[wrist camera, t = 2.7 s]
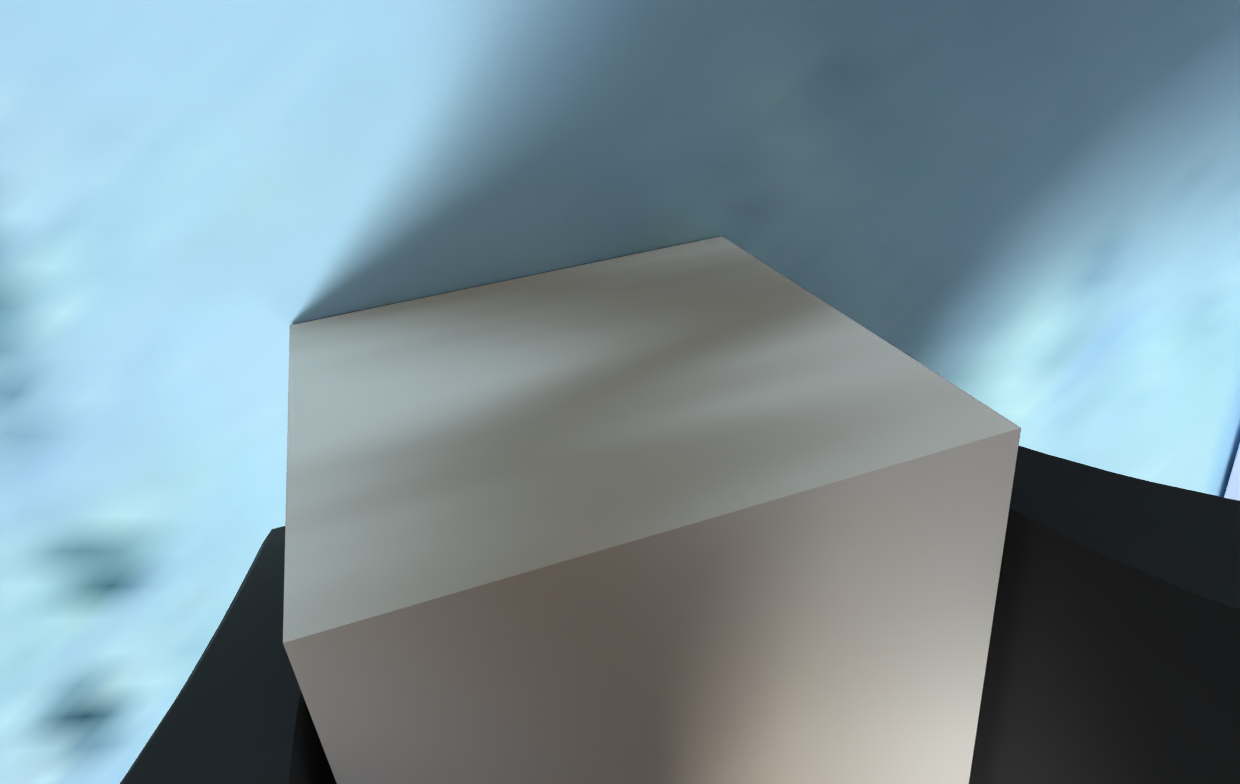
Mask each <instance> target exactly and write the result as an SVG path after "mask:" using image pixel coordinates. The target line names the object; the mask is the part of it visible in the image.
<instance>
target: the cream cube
mask: <svg viewBox="0 0 1240 784" xmlns="http://www.w3.org/2000/svg"><path fill="white" fill-rule="evenodd" d="M1020 432H1021V427H1019V426H1017V425H1016V424H1014V423H1013V422H1011V421H1010V420H1008V419H1007V418H1005V417H1003V416H1002V415H1000V414H999V413H997V412H996V411H994V410H993V409H991V408H989V407H988V406H986V405H985V404H983V403H982V402H980V401H978V400H977V399H975V398H974V397H972V396H971V395H969V394H968V393H966V392H964V391H963V390H961V389H960V388H958V387H957V386H955V385H954V384H952V383H950V382H949V381H947V380H946V379H944V378H943V377H941V376H940V375H938V374H936V373H935V372H933V371H932V370H930V369H929V368H927V367H926V366H924V365H922V364H921V363H919V362H918V361H916V360H915V359H913V358H911V357H910V356H908V355H907V354H905V353H904V352H902V351H901V350H899V349H897V348H896V347H894V346H893V345H891V344H890V343H888V342H887V341H885V340H883V339H882V338H880V337H879V336H877V335H876V334H874V333H873V332H871V331H869V330H868V329H866V328H865V327H863V326H862V325H860V324H858V323H857V322H855V321H854V320H852V319H851V318H849V317H848V316H846V315H844V314H843V313H841V312H840V311H838V310H837V309H835V308H834V307H832V306H830V305H829V304H827V303H826V302H824V301H823V300H821V299H820V298H818V297H816V296H815V295H813V294H812V293H810V292H809V291H807V290H806V289H804V288H802V287H801V286H799V285H798V284H796V283H795V282H793V281H791V280H790V279H788V278H787V277H785V276H784V275H782V274H781V273H779V272H777V271H776V270H774V269H773V268H771V267H770V266H768V265H767V264H765V263H763V262H762V261H760V260H759V259H757V258H756V257H754V256H753V255H751V254H749V253H748V252H746V251H745V250H743V249H742V248H740V247H739V246H737V245H735V244H734V243H732V242H731V241H729V240H728V239H726V238H724V237H723V236H720V237H715V238H710V239H705V240H700V241H695V242H691V243H686V244H681V245H676V246H671V247H666V248H662V249H657V250H652V251H647V252H642V253H637V254H632V255H628V256H623V257H618V258H613V259H608V260H603V261H599V262H594V263H589V264H584V265H579V266H574V267H570V268H565V269H560V270H555V271H550V272H545V273H540V274H536V275H531V276H526V277H521V278H516V279H511V280H507V281H502V282H497V283H492V284H487V285H482V286H478V287H473V288H468V289H463V290H458V291H453V292H449V293H444V294H439V295H434V296H429V297H424V298H419V299H415V300H410V301H405V302H400V303H395V304H390V305H386V306H381V307H376V308H371V309H366V310H361V311H357V312H352V313H347V314H342V315H337V316H332V317H327V318H323V319H318V320H313V321H308V322H303V323H298V324H294V325H290V341H289V387H288V433H287V479H286V525H285V570H284V616H283V645H284V647H285V650H286V652H287V655H288V658H289V660H290V663H291V665H292V668H293V671H294V673H295V676H296V678H297V681H298V684H299V686H300V689H301V691H302V694H303V697H304V699H305V702H306V705H307V707H308V710H309V712H310V715H311V718H312V720H313V723H314V725H315V728H316V731H317V733H318V736H319V738H320V741H321V744H322V746H323V749H324V752H325V754H326V757H327V759H328V762H329V765H330V767H331V770H332V772H333V775H334V778H335V780H336V783H337V784H969V778H970V772H971V765H972V758H973V751H974V744H975V738H976V731H977V724H978V717H979V710H980V704H981V697H982V690H983V683H984V676H985V670H986V663H987V656H988V649H989V642H990V636H991V629H992V622H993V615H994V608H995V602H996V595H997V588H998V581H999V574H1000V568H1001V561H1002V554H1003V547H1004V540H1005V534H1006V527H1007V520H1008V513H1009V506H1010V500H1011V493H1012V486H1013V479H1014V472H1015V466H1016V459H1017V452H1018V445H1019V438H1020Z"/></svg>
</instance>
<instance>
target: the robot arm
mask: <svg viewBox="0 0 1240 784" xmlns="http://www.w3.org/2000/svg"><path fill="white" fill-rule="evenodd" d="M284 570H285V526H283V527H280V528H276V529H272V530H271V532H270V533H269V535H268V536H267V537H266V539H265V540H264V542H263V544H262V546H261V548H260V550H259V551H258V553H257V555H256V557H255V559H254V561H253V563H252V565H251V567H250V569H249V571H248V573H247V575H246V577H245V579H244V581H243V582H242V584H241V586H240V588H239V590H238V592H237V594H236V596H235V598H234V599H233V601H232V603H231V605H230V607H229V609H228V610H227V612H226V614H225V616H224V618H223V620H222V621H221V623H220V625H219V627H218V629H217V630H216V632H215V634H214V635H213V637H212V639H211V641H210V642H209V644H208V646H207V647H206V649H205V651H204V653H203V654H202V656H201V658H200V659H199V661H198V663H197V665H196V666H195V668H194V670H193V671H192V673H191V675H190V677H189V678H188V680H187V682H186V683H185V685H184V687H183V688H182V690H181V692H180V693H179V695H178V696H177V698H176V700H175V701H174V703H173V704H172V706H171V707H170V709H169V710H168V712H167V713H166V715H165V716H164V718H163V719H162V721H161V723H160V724H159V726H158V727H157V729H156V730H155V732H154V733H153V735H152V736H151V738H150V739H149V741H148V742H147V744H146V745H145V747H144V748H143V750H142V751H141V753H140V754H139V756H138V757H137V759H136V761H135V762H134V764H133V765H132V767H131V768H130V770H129V771H128V773H127V774H126V776H125V777H124V778H123V780H122V781H121V783H120V784H337V783H336V780H335V778H334V775H333V772H332V770H331V767H330V765H329V762H328V759H327V757H326V754H325V752H324V749H323V746H322V744H321V741H320V738H319V736H318V733H317V731H316V728H315V725H314V723H313V720H312V718H311V715H310V712H309V710H308V707H307V705H306V702H305V699H304V697H303V694H302V691H301V689H300V686H299V684H298V681H297V678H296V676H295V673H294V671H293V668H292V665H291V663H290V660H289V658H288V655H287V652H286V650H285V647H284V645H283V616H284ZM969 784H1240V444H1239V447H1238V451H1237V454H1236V457H1235V461H1234V464H1233V468H1232V471H1231V475H1230V478H1229V481H1228V485H1227V488H1226V492H1225V495H1224V497H1219V496H1214V495H1210V494H1205V493H1200V492H1196V491H1191V490H1186V489H1182V488H1177V487H1172V486H1168V485H1163V484H1158V483H1154V482H1149V481H1145V480H1141V479H1137V478H1133V477H1129V476H1125V475H1121V474H1117V473H1113V472H1109V471H1105V470H1102V469H1098V468H1094V467H1091V466H1087V465H1084V464H1080V463H1076V462H1073V461H1069V460H1066V459H1062V458H1058V457H1055V456H1051V455H1048V454H1044V453H1041V452H1038V451H1034V450H1031V449H1028V448H1024V447H1021V446H1018V452H1017V459H1016V466H1015V472H1014V479H1013V486H1012V493H1011V500H1010V506H1009V513H1008V520H1007V527H1006V534H1005V540H1004V547H1003V554H1002V561H1001V568H1000V574H999V581H998V588H997V595H996V602H995V608H994V615H993V622H992V629H991V636H990V642H989V649H988V656H987V663H986V670H985V676H984V683H983V690H982V697H981V704H980V710H979V717H978V724H977V731H976V738H975V744H974V751H973V758H972V765H971V772H970V778H969Z"/></svg>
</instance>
